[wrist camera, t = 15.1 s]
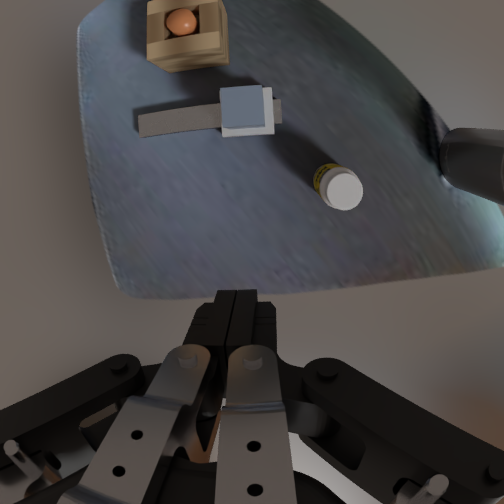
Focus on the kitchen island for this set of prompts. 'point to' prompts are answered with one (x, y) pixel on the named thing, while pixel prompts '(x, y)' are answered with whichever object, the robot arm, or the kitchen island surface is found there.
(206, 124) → the rail
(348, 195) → the supplement bottle
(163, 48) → the open wooden box
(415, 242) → the kitchen island surface
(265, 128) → the carriage
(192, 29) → the brown egg
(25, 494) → the robot arm
